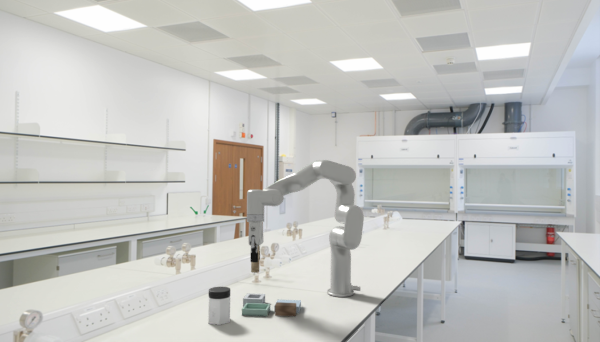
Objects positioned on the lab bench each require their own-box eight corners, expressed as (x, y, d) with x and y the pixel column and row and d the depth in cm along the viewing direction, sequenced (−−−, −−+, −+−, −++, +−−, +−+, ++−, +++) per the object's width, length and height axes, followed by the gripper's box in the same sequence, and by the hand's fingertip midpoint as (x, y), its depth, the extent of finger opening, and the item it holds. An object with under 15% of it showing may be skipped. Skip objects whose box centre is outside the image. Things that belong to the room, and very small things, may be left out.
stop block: (296, 313, 166) (296, 303, 166) (295, 316, 162) (295, 306, 162) (276, 312, 166) (276, 302, 167) (275, 315, 163) (275, 305, 163)
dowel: (260, 270, 178) (260, 243, 179) (258, 272, 175) (258, 244, 175) (252, 270, 179) (252, 243, 179) (250, 272, 175) (250, 244, 175)
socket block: (265, 302, 180) (265, 294, 180) (261, 307, 172) (261, 299, 172) (247, 301, 181) (247, 293, 181) (242, 306, 173) (243, 298, 173)
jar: (202, 323, 153) (203, 290, 153) (213, 316, 161) (214, 285, 161) (224, 326, 150) (225, 293, 150) (234, 319, 158) (235, 287, 158)
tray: (270, 310, 169) (270, 303, 169) (266, 316, 161) (267, 310, 161) (246, 309, 170) (246, 302, 170) (241, 315, 162) (241, 309, 162)
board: (300, 307, 175) (300, 300, 175) (298, 314, 166) (299, 306, 166) (277, 306, 176) (277, 299, 176) (274, 313, 167) (274, 305, 167)
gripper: (260, 220, 169) (260, 265, 168) (267, 216, 185) (267, 257, 185) (242, 220, 169) (242, 264, 169) (251, 216, 186) (250, 257, 185)
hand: (255, 260), depth 177 cm, fingers closed on dowel, 3 cm apart
